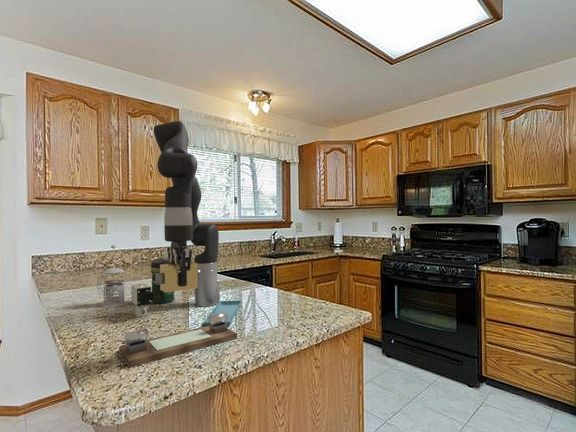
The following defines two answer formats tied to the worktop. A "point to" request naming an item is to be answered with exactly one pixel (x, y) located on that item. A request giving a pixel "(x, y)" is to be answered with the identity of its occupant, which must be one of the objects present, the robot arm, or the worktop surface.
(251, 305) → the worktop surface
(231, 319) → the rectangular tray
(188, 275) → the coupling block
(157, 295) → the coffee jar
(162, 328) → the worktop surface
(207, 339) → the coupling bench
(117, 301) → the french press
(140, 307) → the pneumatic valve
